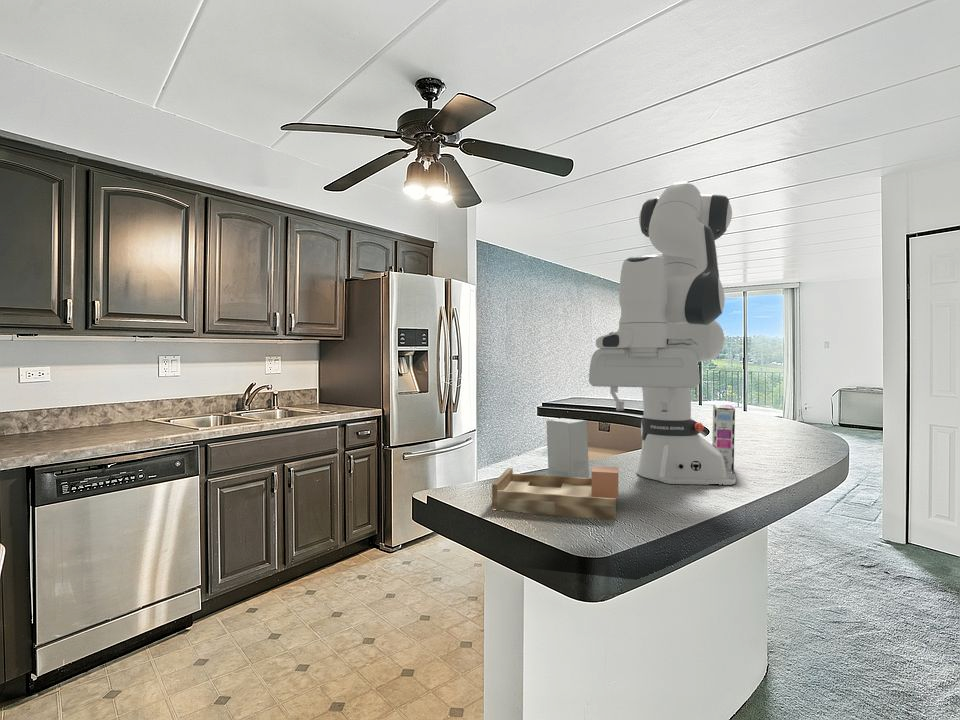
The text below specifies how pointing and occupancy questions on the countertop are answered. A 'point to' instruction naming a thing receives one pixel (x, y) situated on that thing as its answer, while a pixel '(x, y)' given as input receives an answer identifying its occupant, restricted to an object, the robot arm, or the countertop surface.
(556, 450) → the skincare box
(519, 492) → the wooden tray
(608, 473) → the block
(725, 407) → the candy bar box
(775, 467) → the countertop surface
